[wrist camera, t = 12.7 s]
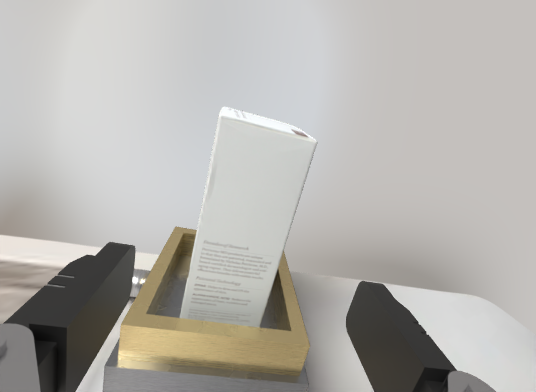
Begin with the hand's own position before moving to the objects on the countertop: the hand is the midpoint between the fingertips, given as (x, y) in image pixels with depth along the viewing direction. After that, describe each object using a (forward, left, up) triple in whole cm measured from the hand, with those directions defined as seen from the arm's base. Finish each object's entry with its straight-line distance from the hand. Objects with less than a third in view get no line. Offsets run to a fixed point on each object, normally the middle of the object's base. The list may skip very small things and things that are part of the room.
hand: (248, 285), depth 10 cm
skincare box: (0, -11, -10) cm, 15 cm away
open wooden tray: (+2, -11, -13) cm, 17 cm away
